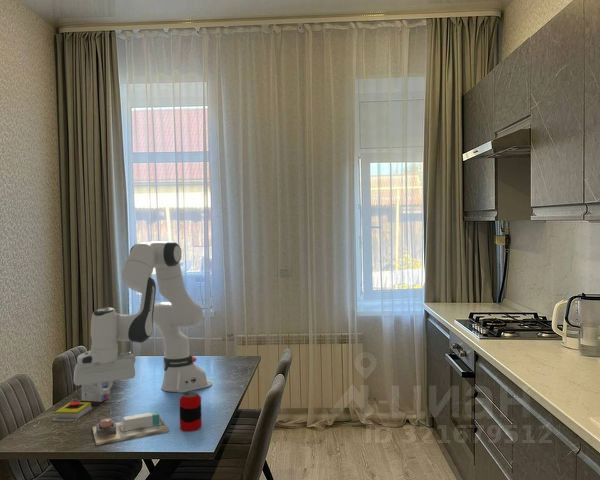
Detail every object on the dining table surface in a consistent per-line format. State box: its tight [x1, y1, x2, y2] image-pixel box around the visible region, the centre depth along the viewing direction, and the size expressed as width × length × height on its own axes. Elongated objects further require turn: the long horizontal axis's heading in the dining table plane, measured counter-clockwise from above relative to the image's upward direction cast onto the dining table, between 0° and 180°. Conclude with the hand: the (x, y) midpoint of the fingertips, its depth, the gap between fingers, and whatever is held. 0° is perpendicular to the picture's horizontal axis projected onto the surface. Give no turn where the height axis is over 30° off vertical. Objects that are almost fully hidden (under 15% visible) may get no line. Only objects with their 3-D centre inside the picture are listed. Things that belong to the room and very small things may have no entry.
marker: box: [122, 411, 160, 430], centre depth 185 cm, size 4×12×4 cm, turn 117°
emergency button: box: [52, 401, 94, 422], centre depth 201 cm, size 9×4×15 cm
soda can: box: [179, 391, 202, 432], centre depth 185 cm, size 8×8×12 cm
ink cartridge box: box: [81, 382, 110, 403], centre depth 218 cm, size 10×6×14 cm, turn 78°
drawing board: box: [91, 414, 170, 446], centre depth 183 cm, size 24×16×3 cm, turn 117°
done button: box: [99, 418, 113, 429], centre depth 179 cm, size 4×4×3 cm
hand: (105, 394), depth 179 cm, fingers closed
